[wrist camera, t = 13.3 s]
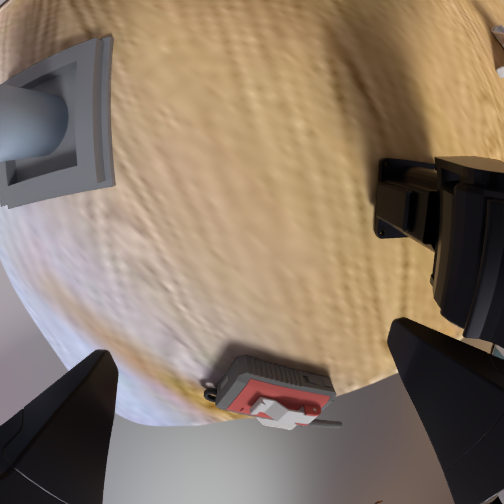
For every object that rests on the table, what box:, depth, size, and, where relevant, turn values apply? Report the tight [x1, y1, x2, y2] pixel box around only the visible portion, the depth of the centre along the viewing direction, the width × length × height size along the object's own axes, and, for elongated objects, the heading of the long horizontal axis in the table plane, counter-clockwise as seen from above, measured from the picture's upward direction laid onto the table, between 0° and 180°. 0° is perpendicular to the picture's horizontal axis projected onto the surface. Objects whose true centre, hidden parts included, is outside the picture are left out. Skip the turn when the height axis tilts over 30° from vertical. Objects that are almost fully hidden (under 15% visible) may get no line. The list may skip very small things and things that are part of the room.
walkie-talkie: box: [204, 355, 342, 430], centre depth 26 cm, size 9×4×20 cm
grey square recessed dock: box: [0, 36, 115, 209], centre depth 14 cm, size 12×12×2 cm
